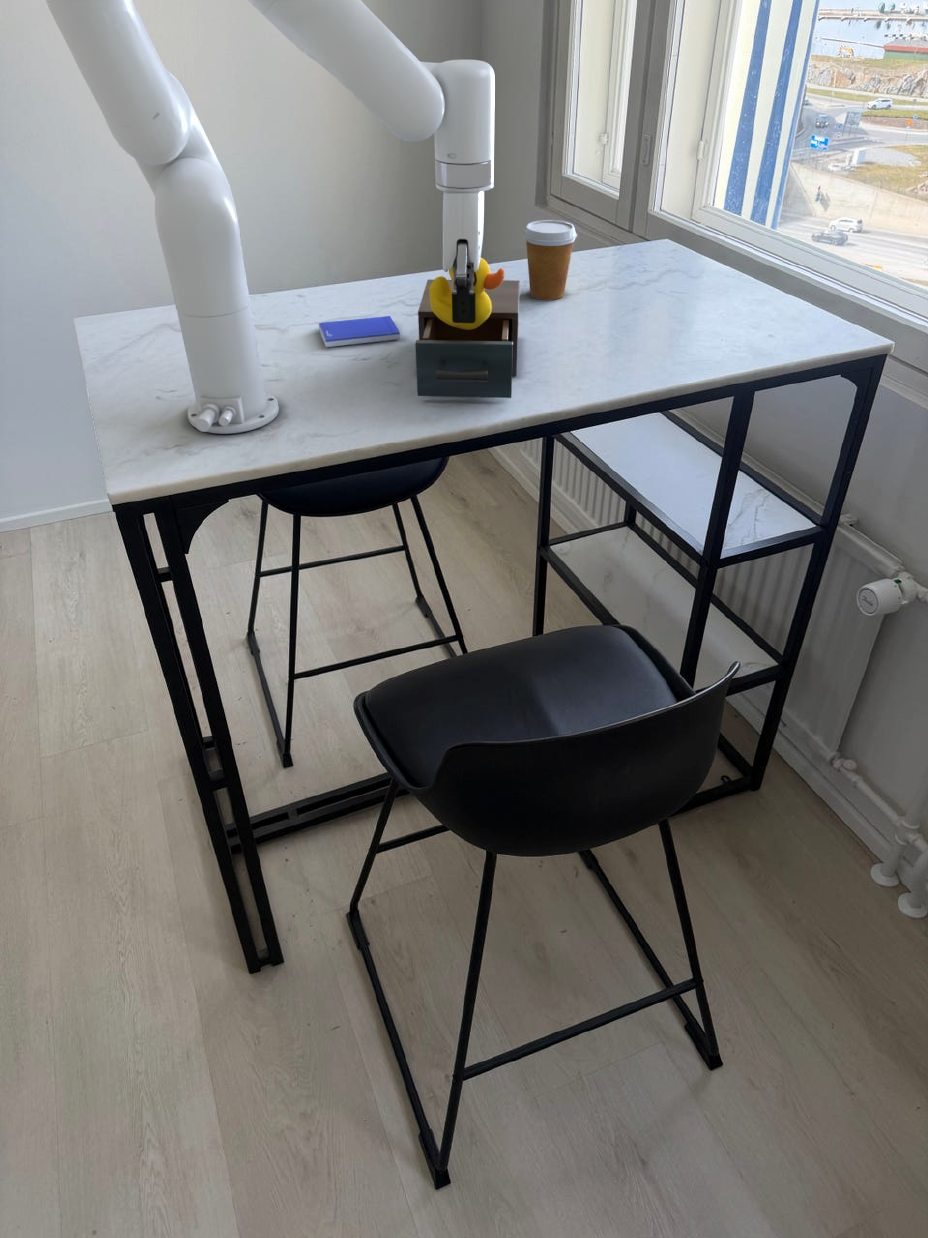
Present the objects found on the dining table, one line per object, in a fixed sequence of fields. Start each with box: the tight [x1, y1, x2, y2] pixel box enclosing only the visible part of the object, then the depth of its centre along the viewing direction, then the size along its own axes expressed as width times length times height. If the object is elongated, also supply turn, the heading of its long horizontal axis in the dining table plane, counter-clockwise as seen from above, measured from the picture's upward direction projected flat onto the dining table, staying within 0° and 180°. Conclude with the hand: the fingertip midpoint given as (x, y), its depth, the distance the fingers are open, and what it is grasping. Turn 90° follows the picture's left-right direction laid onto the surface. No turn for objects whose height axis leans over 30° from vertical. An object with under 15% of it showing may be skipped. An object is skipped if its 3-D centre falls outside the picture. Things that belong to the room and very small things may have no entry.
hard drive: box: [318, 315, 401, 348], centre depth 146 cm, size 2×8×12 cm
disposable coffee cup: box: [523, 219, 578, 301], centre depth 158 cm, size 10×10×12 cm
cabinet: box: [417, 279, 521, 378], centre depth 136 cm, size 15×15×10 cm
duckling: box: [429, 257, 505, 330], centre depth 121 cm, size 11×5×10 cm, turn 62°
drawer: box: [414, 318, 513, 399], centre depth 126 cm, size 19×14×8 cm
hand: (465, 312), depth 123 cm, fingers closed on duckling, 6 cm apart
